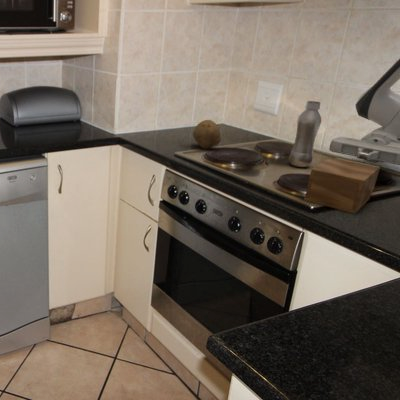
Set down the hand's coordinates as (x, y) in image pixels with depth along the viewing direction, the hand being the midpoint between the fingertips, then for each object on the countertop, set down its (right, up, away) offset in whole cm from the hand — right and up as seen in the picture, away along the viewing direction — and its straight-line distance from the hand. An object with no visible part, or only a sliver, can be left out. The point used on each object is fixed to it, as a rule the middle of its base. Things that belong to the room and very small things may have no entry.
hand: (363, 156), depth 132 cm
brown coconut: (-32, +6, +35) cm, 48 cm away
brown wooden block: (-8, -10, -4) cm, 13 cm away
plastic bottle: (-8, -2, +17) cm, 19 cm away
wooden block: (-12, -12, -8) cm, 19 cm away
